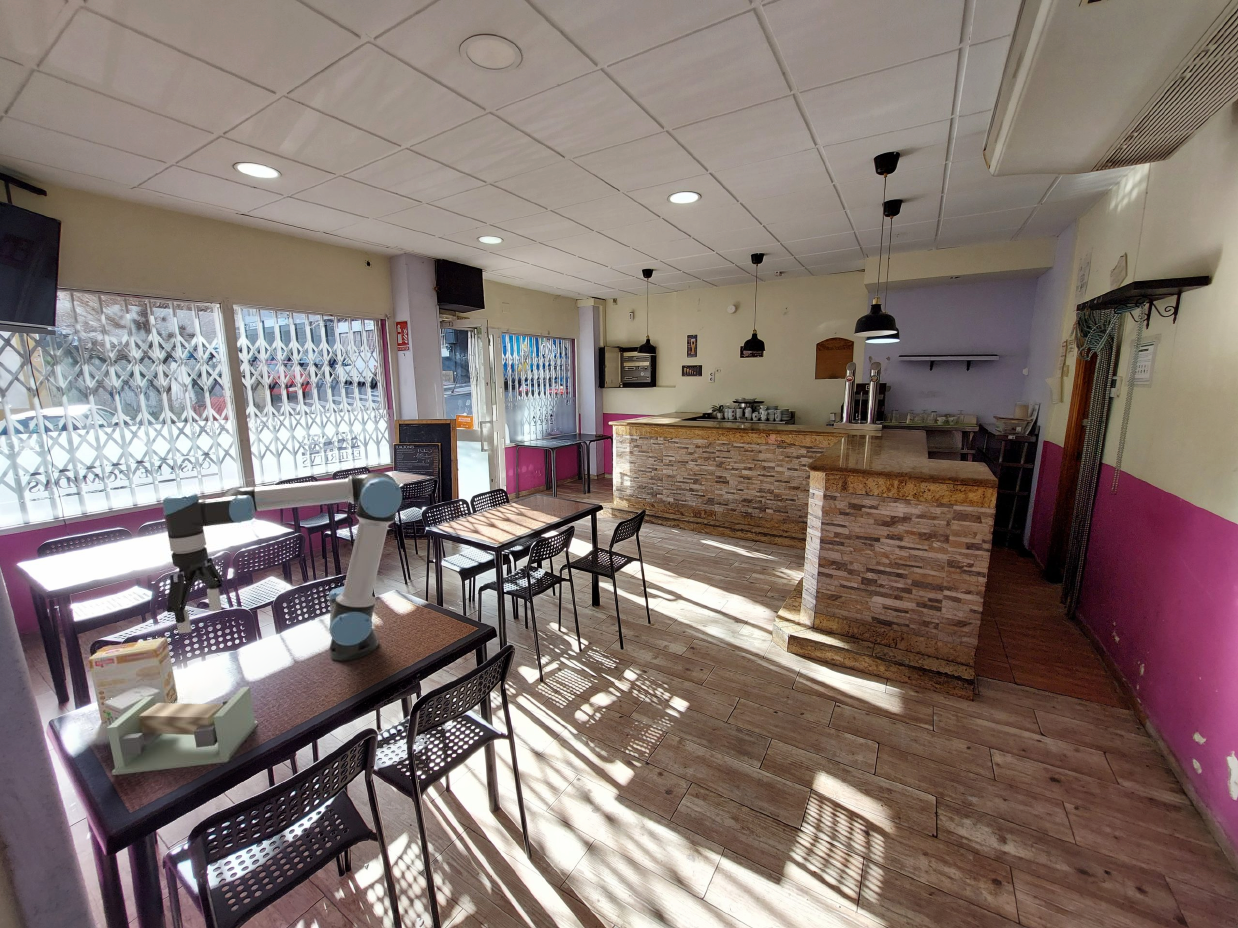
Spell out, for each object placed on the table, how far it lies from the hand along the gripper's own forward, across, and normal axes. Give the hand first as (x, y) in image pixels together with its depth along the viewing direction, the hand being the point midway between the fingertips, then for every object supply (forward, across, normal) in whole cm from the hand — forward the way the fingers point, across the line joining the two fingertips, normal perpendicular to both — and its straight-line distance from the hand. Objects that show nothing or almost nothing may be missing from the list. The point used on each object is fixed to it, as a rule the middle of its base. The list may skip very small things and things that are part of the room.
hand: (201, 620), depth 142 cm
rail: (+20, +19, +4) cm, 28 cm away
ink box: (+27, +10, -13) cm, 31 cm away
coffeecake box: (+27, -2, -20) cm, 34 cm away
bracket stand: (+26, +19, +4) cm, 33 cm away
